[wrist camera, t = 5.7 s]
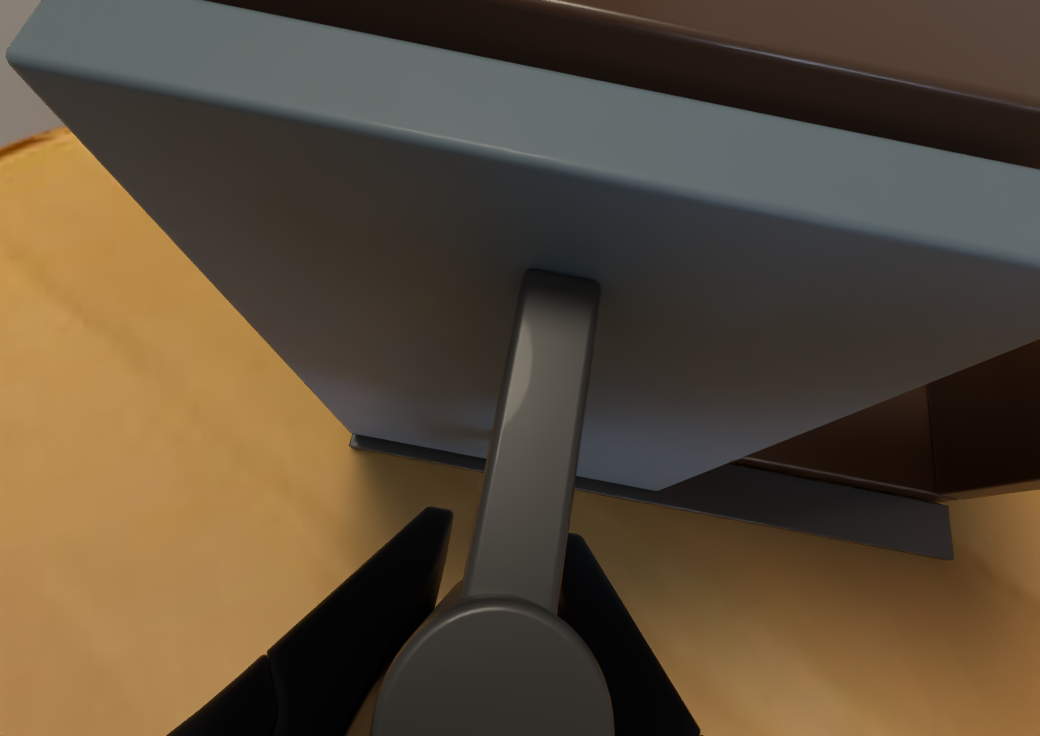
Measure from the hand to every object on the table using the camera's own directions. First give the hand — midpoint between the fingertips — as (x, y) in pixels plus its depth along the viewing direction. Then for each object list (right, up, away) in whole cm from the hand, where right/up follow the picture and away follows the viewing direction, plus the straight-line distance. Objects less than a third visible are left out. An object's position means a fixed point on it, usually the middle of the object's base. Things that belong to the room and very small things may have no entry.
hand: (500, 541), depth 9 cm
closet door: (0, -2, +6) cm, 7 cm away
